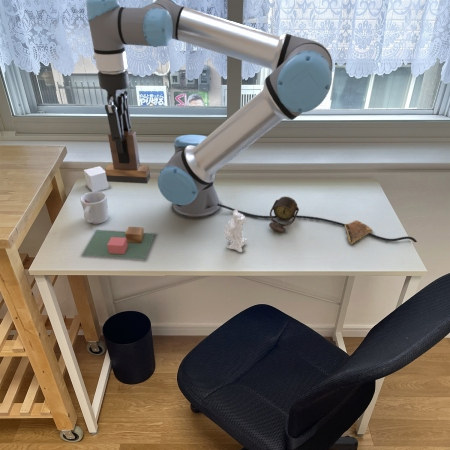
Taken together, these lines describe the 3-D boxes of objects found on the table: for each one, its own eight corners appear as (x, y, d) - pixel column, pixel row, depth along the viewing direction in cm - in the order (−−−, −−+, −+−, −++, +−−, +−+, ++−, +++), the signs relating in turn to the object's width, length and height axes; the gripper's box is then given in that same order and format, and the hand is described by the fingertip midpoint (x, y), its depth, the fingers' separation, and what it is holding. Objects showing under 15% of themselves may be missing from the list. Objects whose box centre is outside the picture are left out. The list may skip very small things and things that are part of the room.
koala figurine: (248, 254, 126) (250, 217, 118) (225, 255, 126) (225, 218, 118) (245, 238, 132) (247, 202, 124) (223, 238, 132) (223, 203, 124)
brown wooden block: (150, 177, 131) (144, 131, 122) (147, 183, 128) (141, 136, 119) (111, 175, 132) (102, 129, 123) (107, 181, 129) (98, 134, 120)
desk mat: (154, 234, 133) (154, 233, 133) (144, 260, 124) (144, 258, 123) (97, 231, 135) (97, 230, 134) (82, 256, 125) (82, 254, 125)
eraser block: (128, 246, 128) (126, 237, 126) (124, 254, 125) (122, 245, 123) (112, 245, 128) (111, 236, 126) (108, 253, 125) (107, 244, 123)
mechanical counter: (310, 205, 136) (286, 188, 140) (286, 217, 129) (261, 199, 132) (302, 224, 141) (279, 207, 145) (278, 236, 134) (254, 218, 137)
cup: (101, 232, 134) (96, 209, 129) (77, 229, 135) (71, 206, 130) (114, 214, 142) (110, 192, 137) (91, 212, 143) (86, 189, 138)
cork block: (144, 235, 132) (143, 227, 130) (141, 243, 129) (140, 234, 127) (130, 235, 133) (128, 226, 131) (126, 242, 130) (125, 233, 128)
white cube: (109, 188, 156) (106, 172, 152) (93, 192, 154) (90, 176, 150) (102, 181, 160) (99, 165, 156) (86, 185, 157) (83, 170, 153)
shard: (350, 246, 129) (351, 241, 128) (330, 235, 134) (331, 230, 133) (372, 233, 135) (374, 228, 133) (352, 223, 139) (353, 218, 138)
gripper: (107, 61, 117) (121, 148, 132) (87, 78, 105) (104, 171, 120) (135, 62, 116) (145, 149, 132) (117, 79, 104) (131, 173, 120)
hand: (126, 159), depth 126 cm, fingers closed on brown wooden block, 3 cm apart
